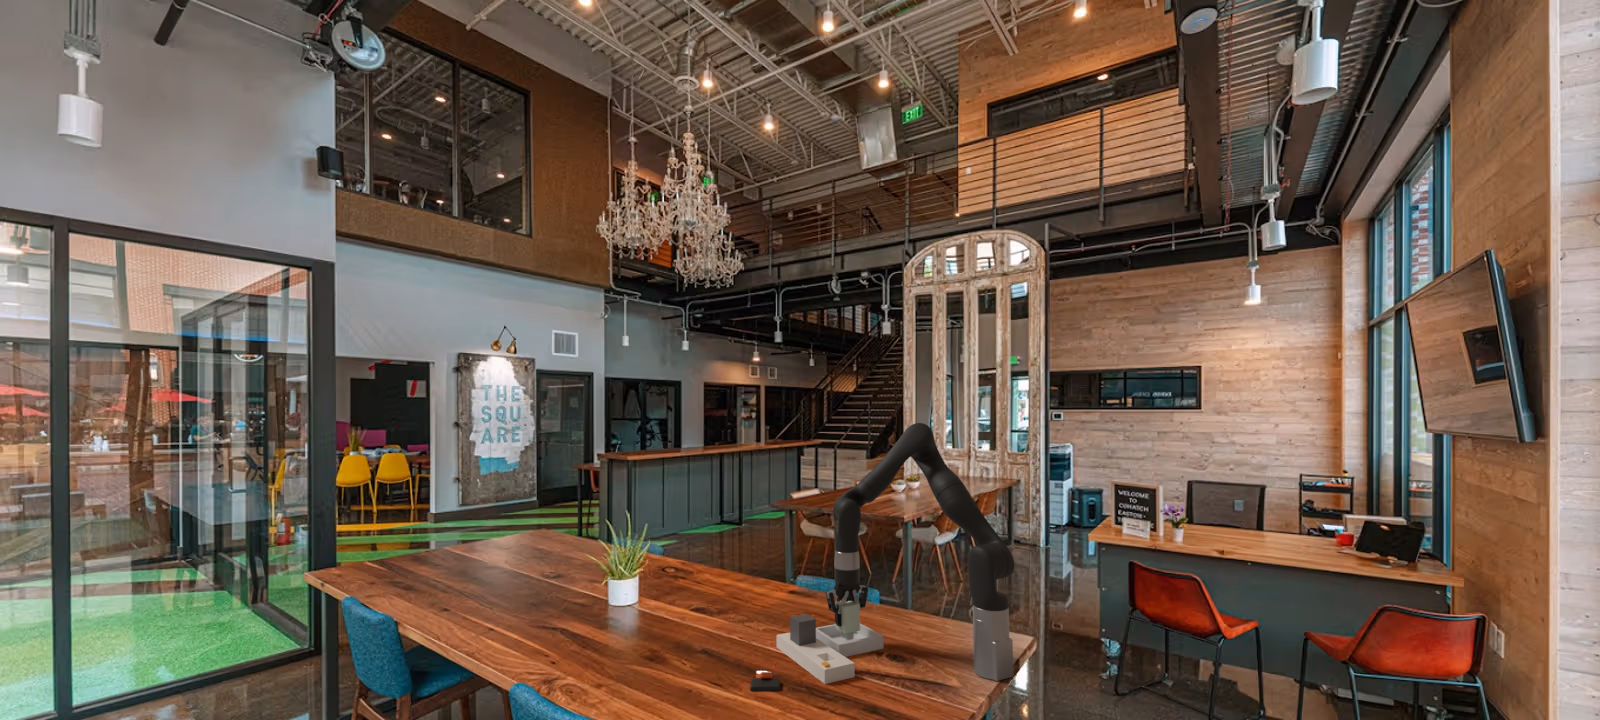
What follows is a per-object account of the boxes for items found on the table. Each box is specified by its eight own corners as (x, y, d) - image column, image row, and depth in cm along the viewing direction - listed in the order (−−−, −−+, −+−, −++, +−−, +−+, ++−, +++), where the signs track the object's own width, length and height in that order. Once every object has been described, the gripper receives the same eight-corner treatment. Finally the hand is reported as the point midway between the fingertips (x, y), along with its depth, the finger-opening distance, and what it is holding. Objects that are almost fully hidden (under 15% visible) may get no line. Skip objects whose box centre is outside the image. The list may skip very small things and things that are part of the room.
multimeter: (742, 663, 171) (742, 650, 172) (785, 664, 171) (785, 651, 171) (731, 693, 154) (731, 679, 154) (779, 694, 153) (779, 680, 153)
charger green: (860, 639, 183) (859, 604, 184) (844, 642, 180) (844, 607, 181) (850, 633, 188) (849, 599, 189) (834, 636, 185) (834, 602, 186)
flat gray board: (854, 676, 161) (854, 660, 162) (824, 684, 157) (824, 667, 158) (803, 641, 186) (803, 627, 186) (776, 647, 182) (776, 632, 182)
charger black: (815, 651, 176) (815, 619, 177) (799, 655, 173) (799, 622, 174) (806, 645, 181) (806, 613, 181) (790, 648, 178) (790, 616, 179)
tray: (883, 648, 181) (883, 635, 181) (839, 658, 174) (838, 644, 174) (854, 632, 194) (854, 620, 194) (812, 640, 187) (812, 628, 187)
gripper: (832, 571, 179) (833, 632, 178) (873, 565, 186) (874, 624, 184) (820, 566, 186) (820, 624, 184) (860, 560, 193) (860, 616, 191)
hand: (847, 624), depth 184 cm, fingers closed on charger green, 5 cm apart
